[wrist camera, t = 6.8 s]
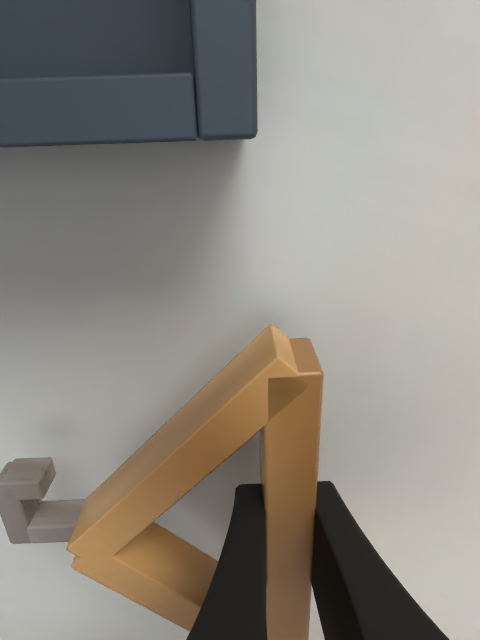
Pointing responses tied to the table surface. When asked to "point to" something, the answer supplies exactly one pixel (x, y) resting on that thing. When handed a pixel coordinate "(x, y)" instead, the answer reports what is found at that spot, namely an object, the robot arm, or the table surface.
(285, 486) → the hanger
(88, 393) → the table surface
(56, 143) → the basket
